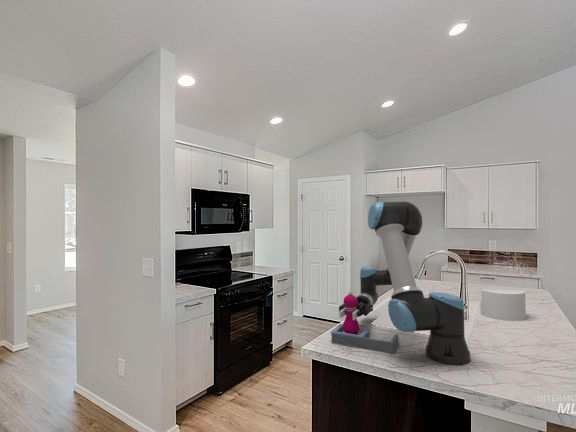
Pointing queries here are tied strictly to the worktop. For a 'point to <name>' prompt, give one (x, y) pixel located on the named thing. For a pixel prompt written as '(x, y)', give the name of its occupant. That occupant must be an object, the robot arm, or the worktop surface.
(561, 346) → the worktop surface
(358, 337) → the divider rack
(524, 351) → the worktop surface
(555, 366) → the worktop surface
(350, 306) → the pepper mill
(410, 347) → the worktop surface
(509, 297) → the container
